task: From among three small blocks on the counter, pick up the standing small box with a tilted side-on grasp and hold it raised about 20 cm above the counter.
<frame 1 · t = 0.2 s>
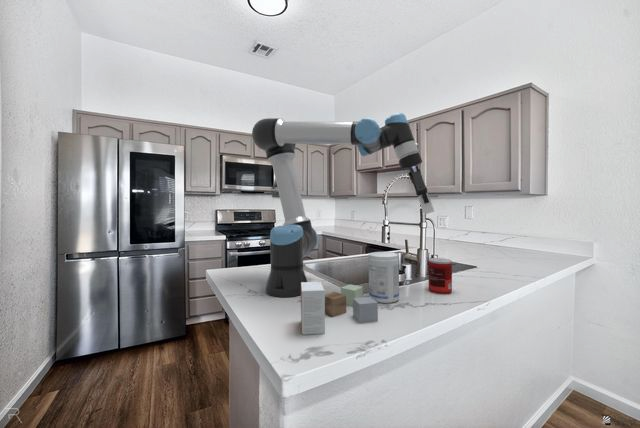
hand: (428, 212, 99), 28 cm above the table, tool tilted 20°, fingers open, 13 cm apart
supplement tub: (383, 299, 91), on the table
walnut block: (333, 312, 80), on the table
sage green block: (352, 303, 88), on the table
small box: (312, 328, 70), on the table
slate grey block: (365, 318, 75), on the table
canned food: (440, 291, 99), on the table
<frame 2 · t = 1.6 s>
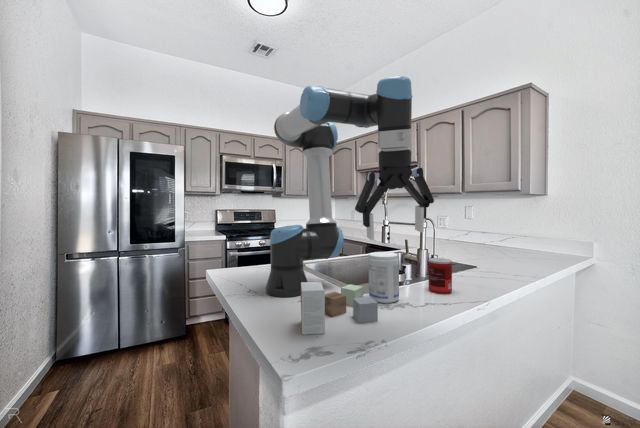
hand: (395, 234, 71), 23 cm above the table, tool pointing down, fingers open, 13 cm apart
nothing on the table moved.
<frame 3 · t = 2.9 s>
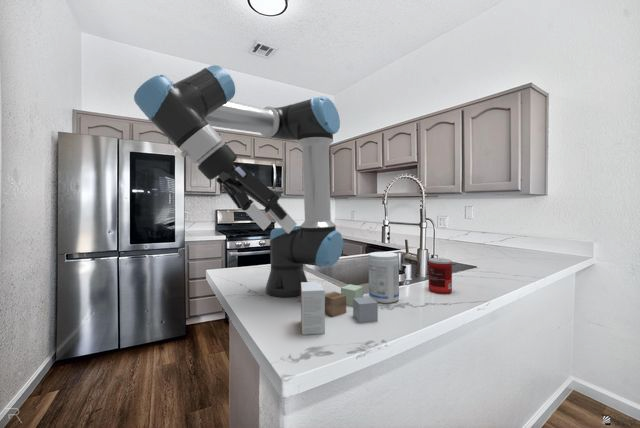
hand: (278, 227, 64), 25 cm above the table, tool tilted 45°, fingers open, 13 cm apart
nothing on the table moved.
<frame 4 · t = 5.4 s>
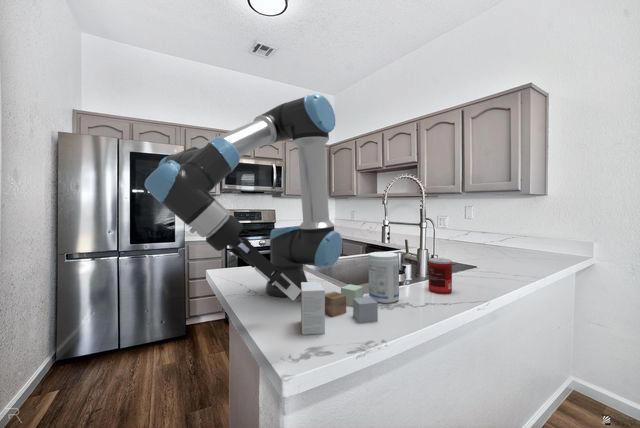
hand: (285, 287, 66), 11 cm above the table, tool tilted 45°, fingers open, 13 cm apart
nothing on the table moved.
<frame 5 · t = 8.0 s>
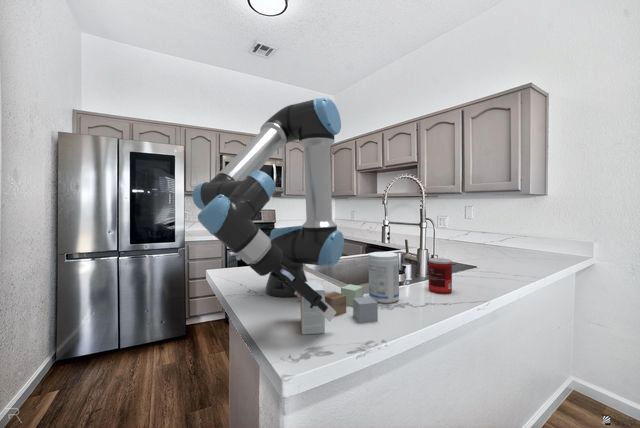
hand: (322, 309, 71), 4 cm above the table, tool tilted 45°, fingers closed on small box, 9 cm apart
small box: (312, 328, 70), on the table, touching gripper
everything else where it was.
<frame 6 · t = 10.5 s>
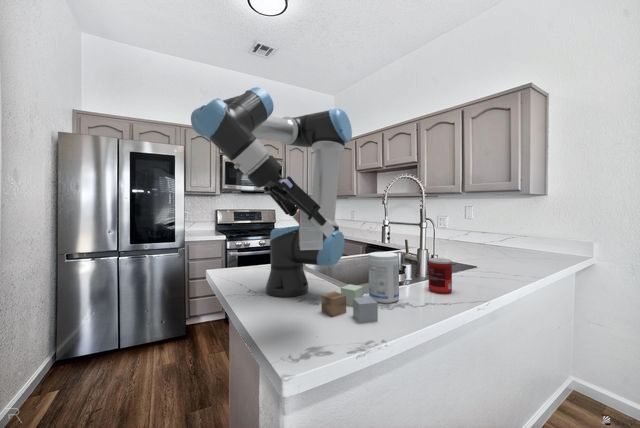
hand: (320, 231, 71), 24 cm above the table, tool tilted 45°, fingers closed on small box, 9 cm apart
small box: (310, 248, 70), point 20 cm above the table, touching gripper
everything else where it was.
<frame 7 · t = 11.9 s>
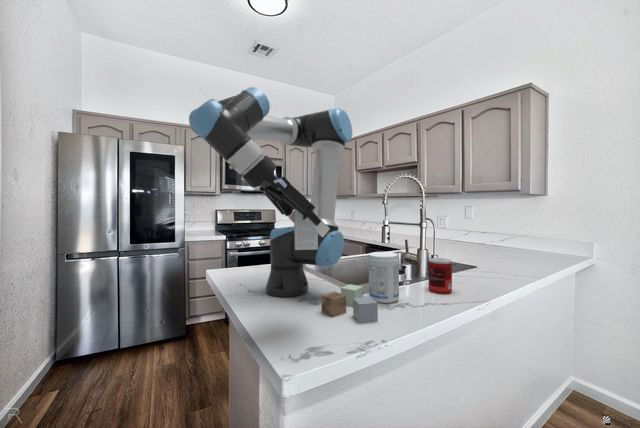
hand: (316, 231, 71), 24 cm above the table, tool tilted 45°, fingers closed on small box, 9 cm apart
small box: (305, 248, 70), point 20 cm above the table, touching gripper
everything else where it was.
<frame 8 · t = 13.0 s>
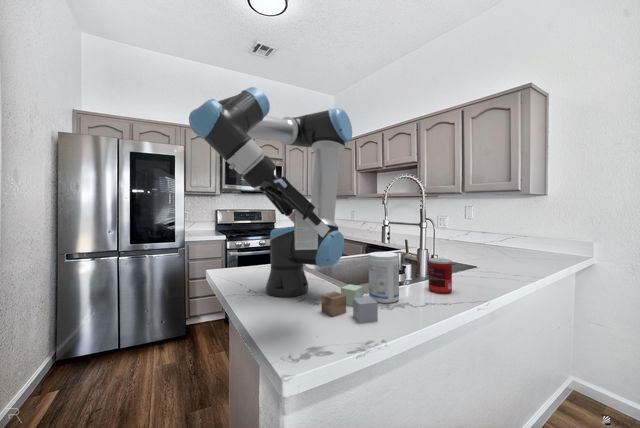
hand: (316, 231, 71), 24 cm above the table, tool tilted 45°, fingers closed on small box, 9 cm apart
small box: (305, 248, 70), point 20 cm above the table, touching gripper
everything else where it was.
at the end: the gripper is holding small box; small box point 19.7 cm above the table; walnut block moved 0.1 cm from its start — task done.
